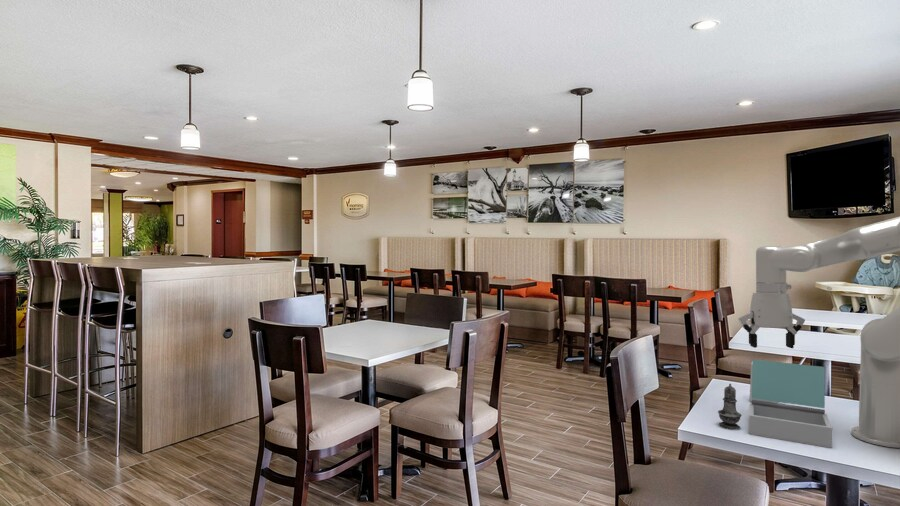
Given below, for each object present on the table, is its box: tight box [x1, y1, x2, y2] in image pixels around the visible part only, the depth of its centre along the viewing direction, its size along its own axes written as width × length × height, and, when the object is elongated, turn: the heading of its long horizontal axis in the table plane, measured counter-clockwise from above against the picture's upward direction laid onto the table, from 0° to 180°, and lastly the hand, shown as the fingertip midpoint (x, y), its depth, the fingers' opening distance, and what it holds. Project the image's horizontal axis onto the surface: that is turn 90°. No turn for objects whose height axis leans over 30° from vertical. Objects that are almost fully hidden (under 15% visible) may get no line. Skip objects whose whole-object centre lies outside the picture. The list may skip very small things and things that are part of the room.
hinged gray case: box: [748, 402, 833, 449], centre depth 139 cm, size 18×12×5 cm, turn 59°
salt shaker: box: [717, 383, 742, 430], centre depth 145 cm, size 6×6×12 cm
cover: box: [751, 358, 826, 414], centre depth 145 cm, size 17×13×1 cm
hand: (771, 347), depth 151 cm, fingers open, 9 cm apart
